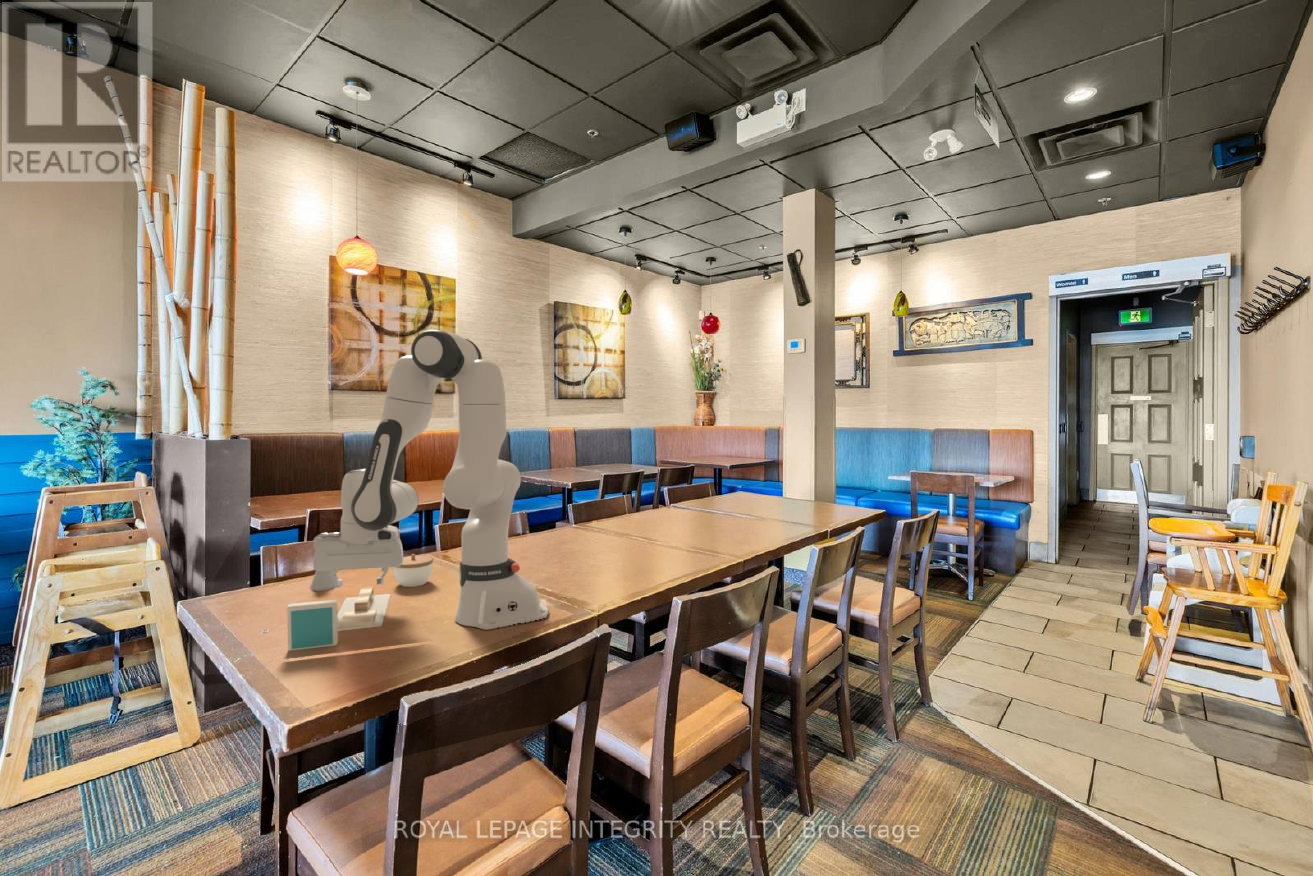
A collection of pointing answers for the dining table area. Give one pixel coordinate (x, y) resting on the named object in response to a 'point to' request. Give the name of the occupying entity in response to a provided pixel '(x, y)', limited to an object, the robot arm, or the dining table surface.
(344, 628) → the mat
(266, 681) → the dining table surface
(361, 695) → the dining table surface
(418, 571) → the lidded jar
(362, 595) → the turner
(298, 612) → the rectangular block
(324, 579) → the flask
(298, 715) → the dining table surface
